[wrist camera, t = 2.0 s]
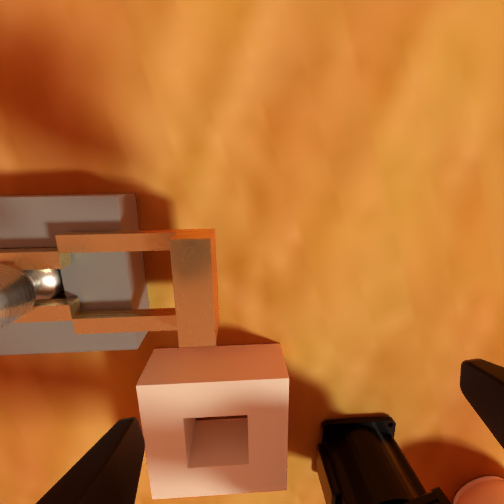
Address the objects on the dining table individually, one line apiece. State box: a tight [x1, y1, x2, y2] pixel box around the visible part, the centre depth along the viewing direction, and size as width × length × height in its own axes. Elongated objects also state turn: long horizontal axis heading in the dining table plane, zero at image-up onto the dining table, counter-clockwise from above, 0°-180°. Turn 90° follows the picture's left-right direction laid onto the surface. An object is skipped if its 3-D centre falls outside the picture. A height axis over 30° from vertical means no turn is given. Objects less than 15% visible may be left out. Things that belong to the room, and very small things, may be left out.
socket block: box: [0, 193, 149, 355], centre depth 18 cm, size 12×10×3 cm
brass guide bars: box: [0, 229, 219, 347], centre depth 15 cm, size 14×6×3 cm, turn 91°
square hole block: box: [136, 343, 289, 499], centre depth 21 cm, size 10×10×4 cm
